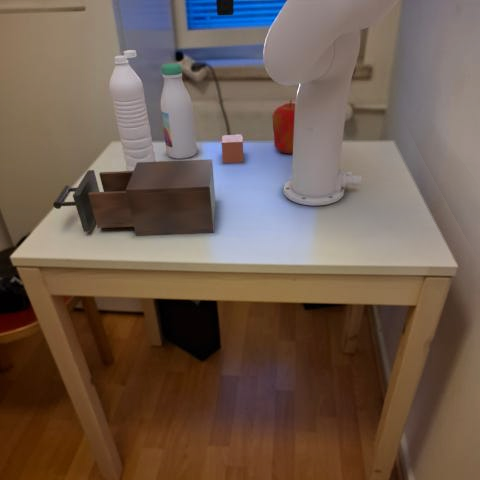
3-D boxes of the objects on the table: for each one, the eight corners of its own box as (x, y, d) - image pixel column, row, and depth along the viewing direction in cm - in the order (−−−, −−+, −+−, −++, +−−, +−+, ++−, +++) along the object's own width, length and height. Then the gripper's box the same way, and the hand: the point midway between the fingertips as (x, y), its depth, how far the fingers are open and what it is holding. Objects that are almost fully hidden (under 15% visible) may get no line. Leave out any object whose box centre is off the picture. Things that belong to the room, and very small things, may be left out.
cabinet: (135, 235, 81) (125, 189, 75) (145, 205, 90) (137, 162, 84) (213, 232, 81) (209, 186, 75) (215, 202, 90) (212, 159, 84)
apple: (272, 144, 114) (273, 95, 106) (305, 144, 113) (308, 94, 105) (270, 157, 107) (271, 105, 99) (305, 157, 106) (308, 105, 98)
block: (243, 154, 109) (242, 134, 106) (243, 162, 105) (242, 141, 102) (223, 155, 109) (221, 135, 106) (222, 163, 105) (221, 142, 102)
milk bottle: (200, 148, 113) (191, 60, 100) (193, 159, 108) (183, 68, 94) (171, 147, 114) (159, 61, 101) (163, 159, 109) (149, 68, 95)
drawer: (57, 232, 82) (44, 196, 77) (73, 205, 90) (62, 171, 85) (155, 229, 81) (148, 192, 76) (162, 202, 89) (156, 167, 84)
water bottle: (152, 189, 96) (128, 59, 80) (125, 187, 98) (96, 59, 81) (166, 172, 102) (147, 49, 86) (140, 171, 104) (117, 49, 87)
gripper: (242, -113, 69) (245, 17, 81) (241, -106, 82) (243, 5, 94) (195, -111, 69) (205, 18, 81) (201, -105, 82) (208, 6, 94)
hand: (225, 11), depth 87 cm, fingers open, 9 cm apart
